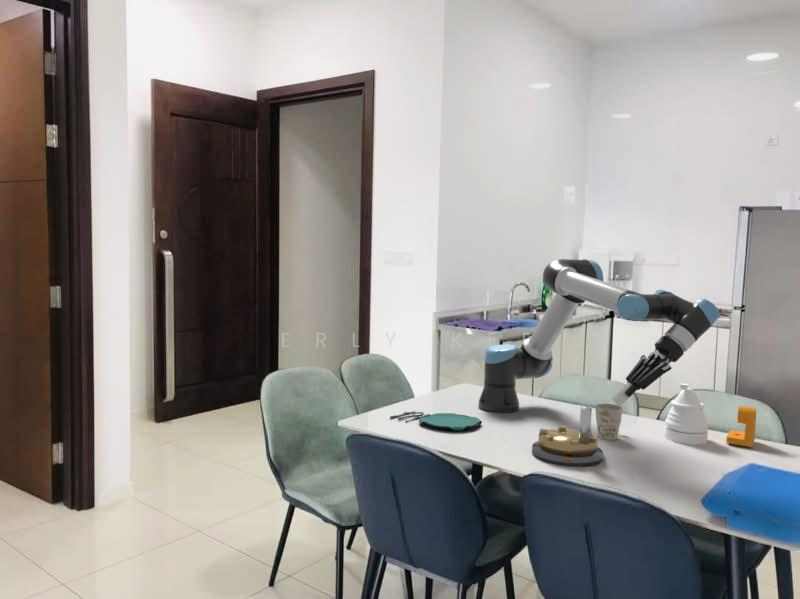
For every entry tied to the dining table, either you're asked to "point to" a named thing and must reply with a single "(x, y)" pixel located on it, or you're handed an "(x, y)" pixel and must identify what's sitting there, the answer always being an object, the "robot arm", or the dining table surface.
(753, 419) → the bracket
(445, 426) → the cutlery set
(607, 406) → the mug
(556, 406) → the dining table surface
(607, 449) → the dining table surface
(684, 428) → the honey pot
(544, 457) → the disc
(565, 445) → the round peg stand
